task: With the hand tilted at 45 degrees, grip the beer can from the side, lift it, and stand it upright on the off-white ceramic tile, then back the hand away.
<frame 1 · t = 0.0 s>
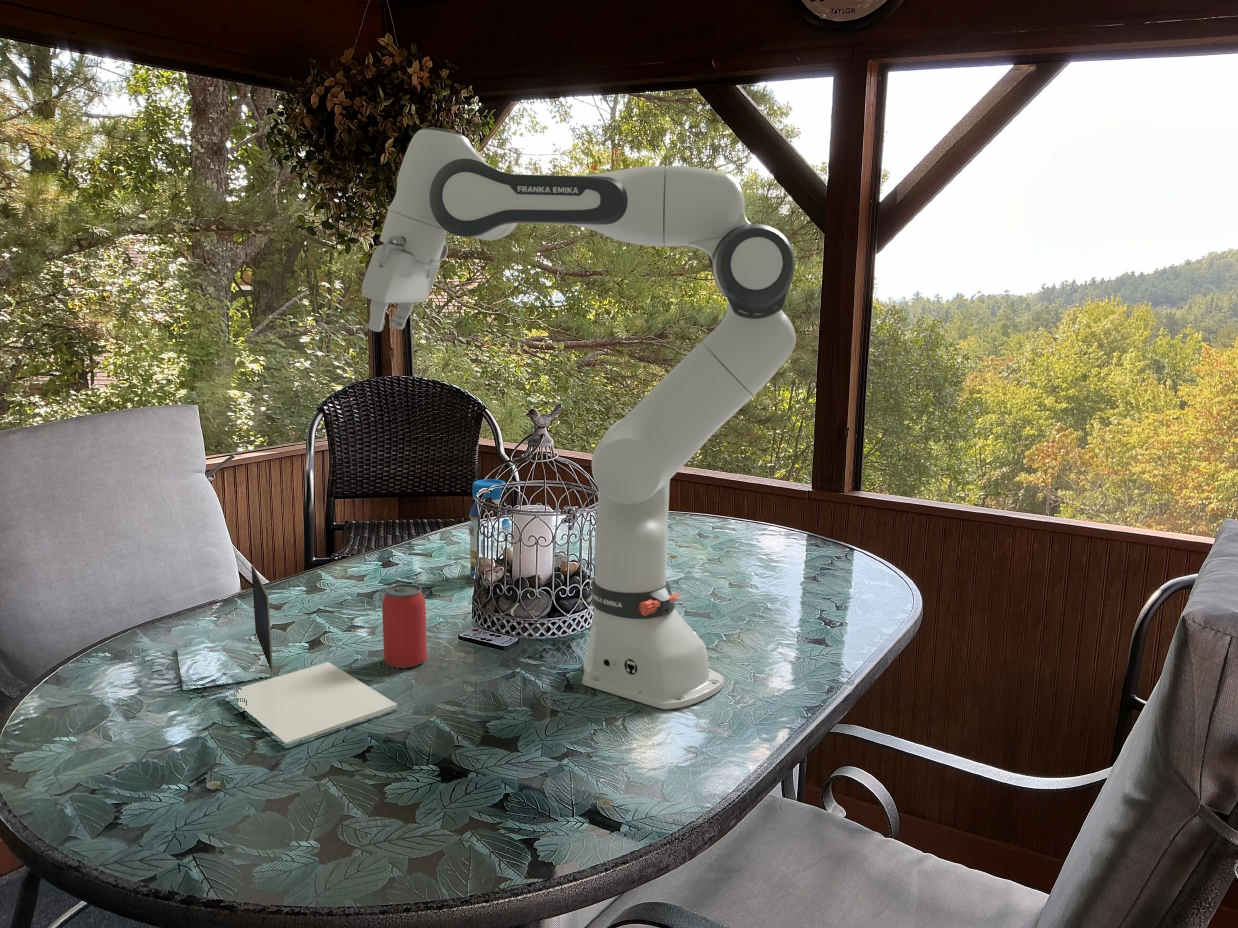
hand: (385, 329, 134), 52 cm above the table, tool tilted 20°, fingers open, 8 cm apart
beverage bottle: (490, 577, 185), on the table
beer can: (405, 662, 142), on the table
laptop: (223, 665, 141), on the table
ceramic tile: (309, 704, 127), on the table
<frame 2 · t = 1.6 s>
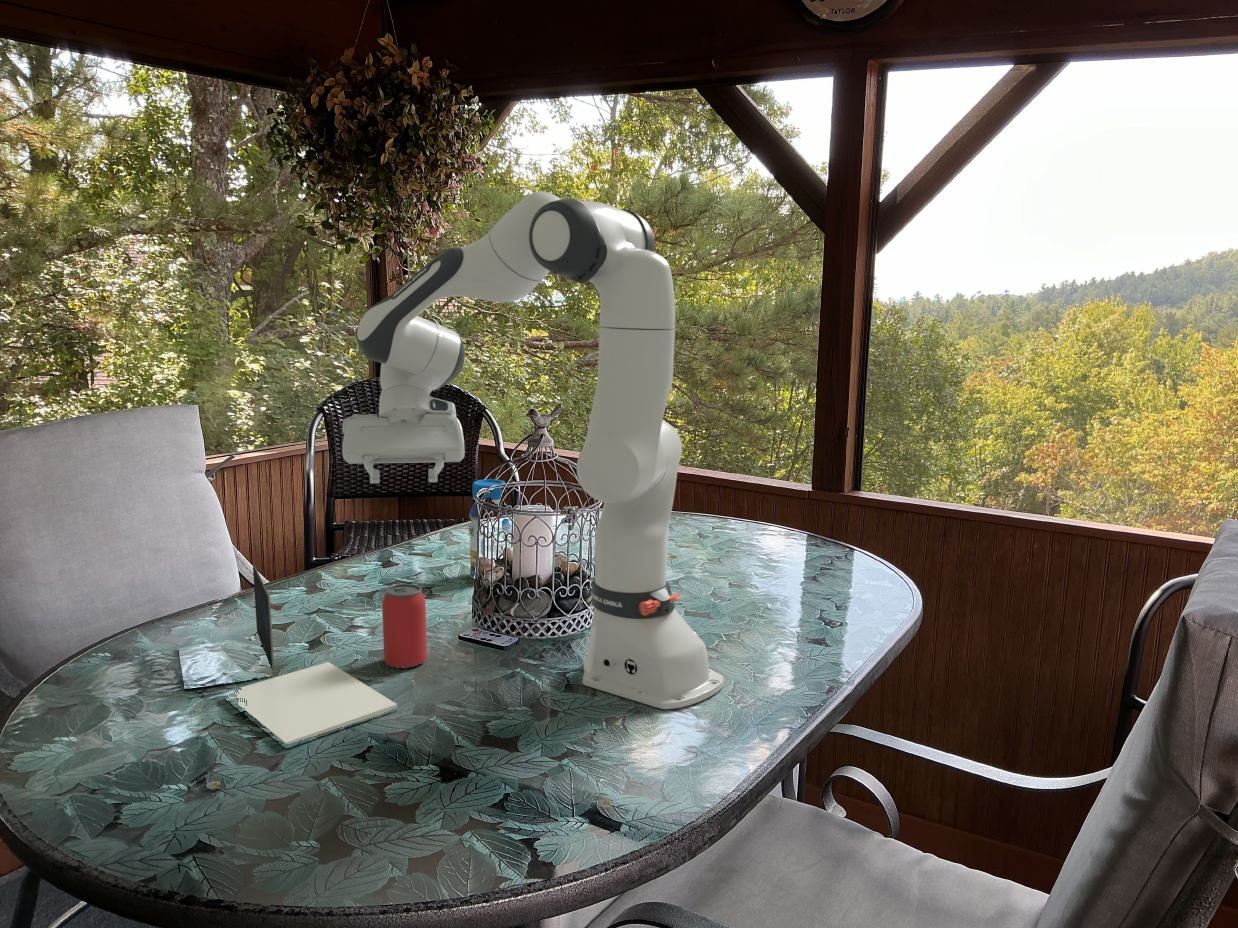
hand: (404, 480, 149), 27 cm above the table, tool tilted 45°, fingers open, 8 cm apart
nothing on the table moved.
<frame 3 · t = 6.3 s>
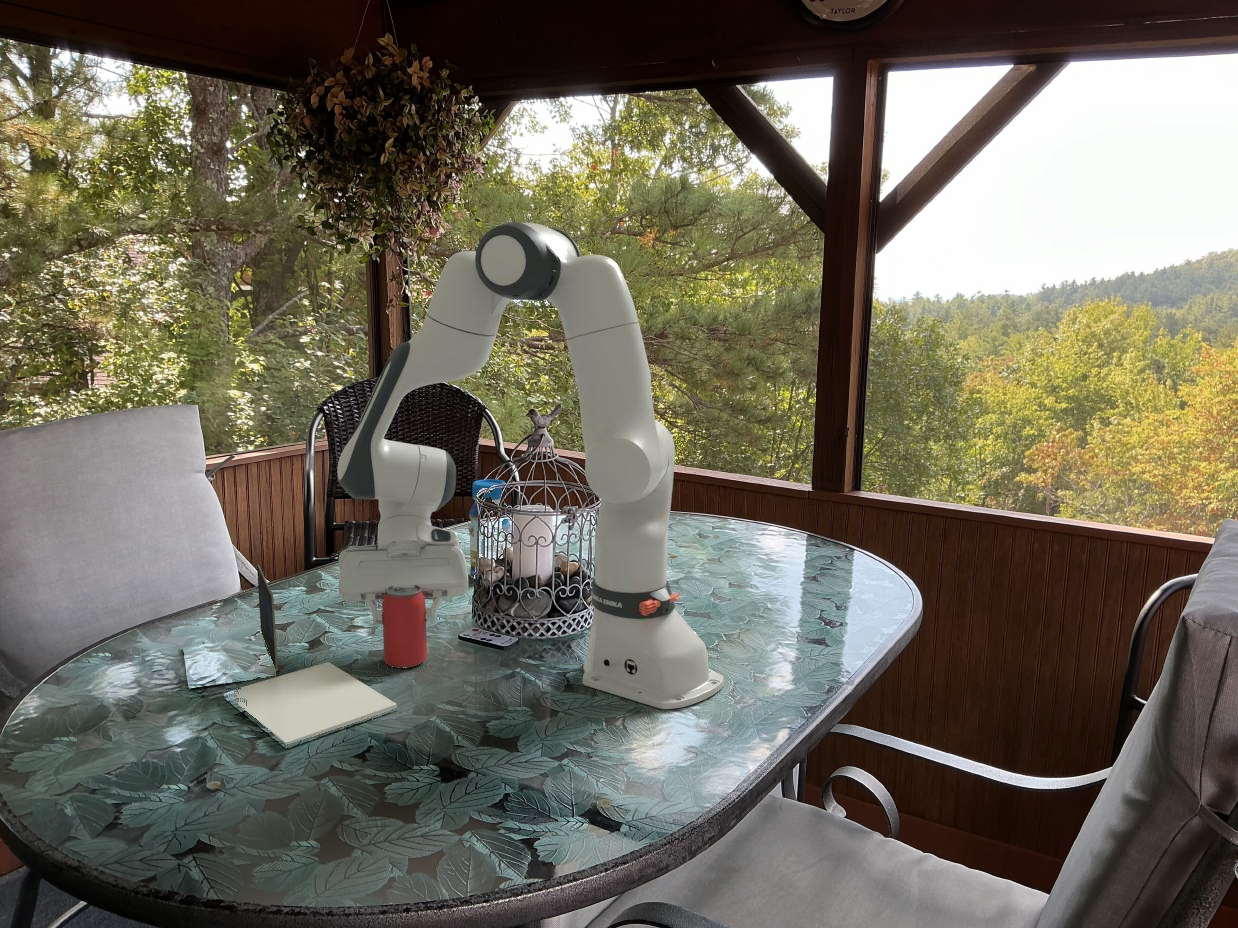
hand: (404, 621, 140), 7 cm above the table, tool tilted 45°, fingers closed on beer can, 7 cm apart
beer can: (405, 662, 142), on the table, touching gripper
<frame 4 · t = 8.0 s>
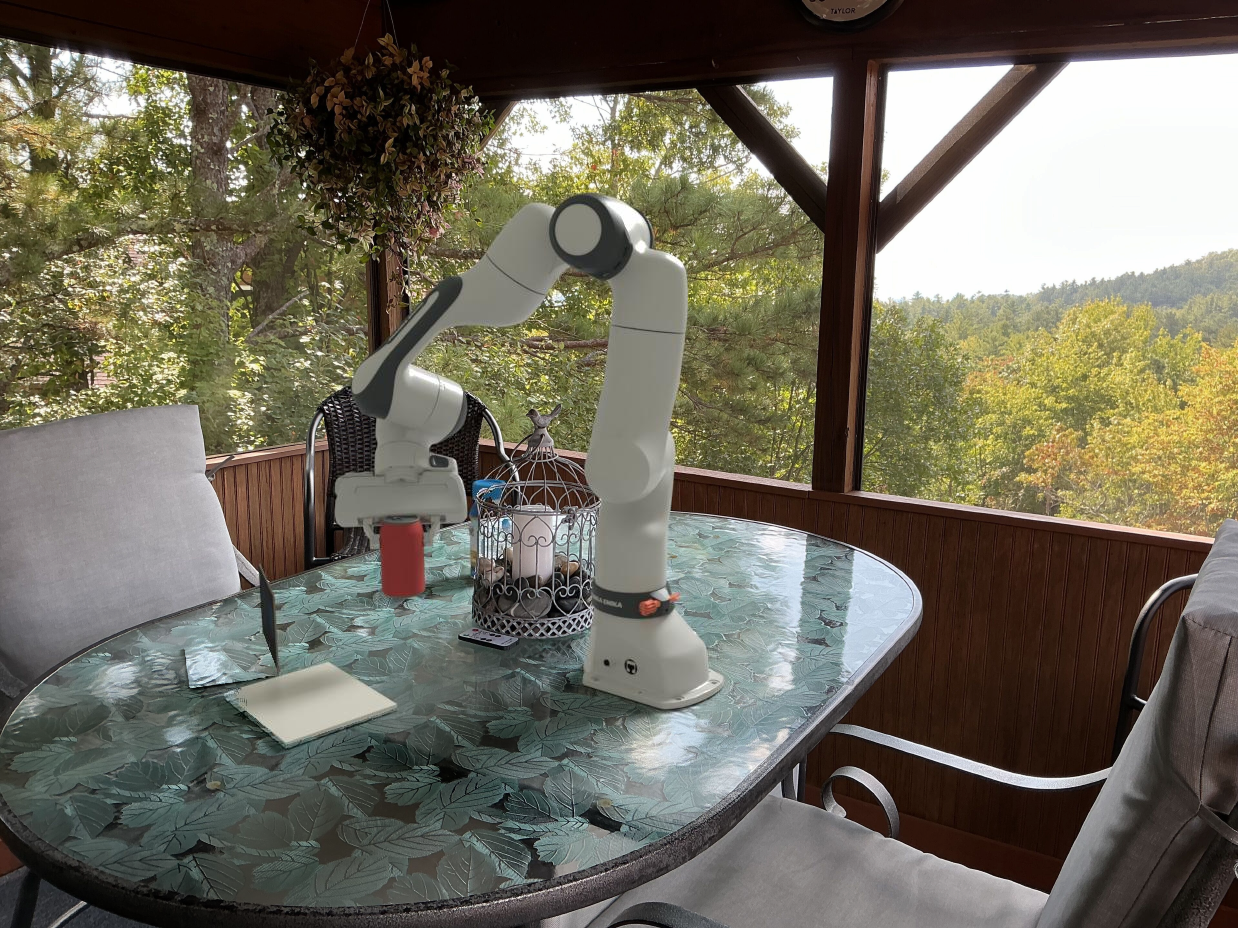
hand: (401, 546, 138), 19 cm above the table, tool tilted 45°, fingers closed on beer can, 7 cm apart
beer can: (403, 593, 140), point 11 cm above the table, touching gripper
everything else where it was.
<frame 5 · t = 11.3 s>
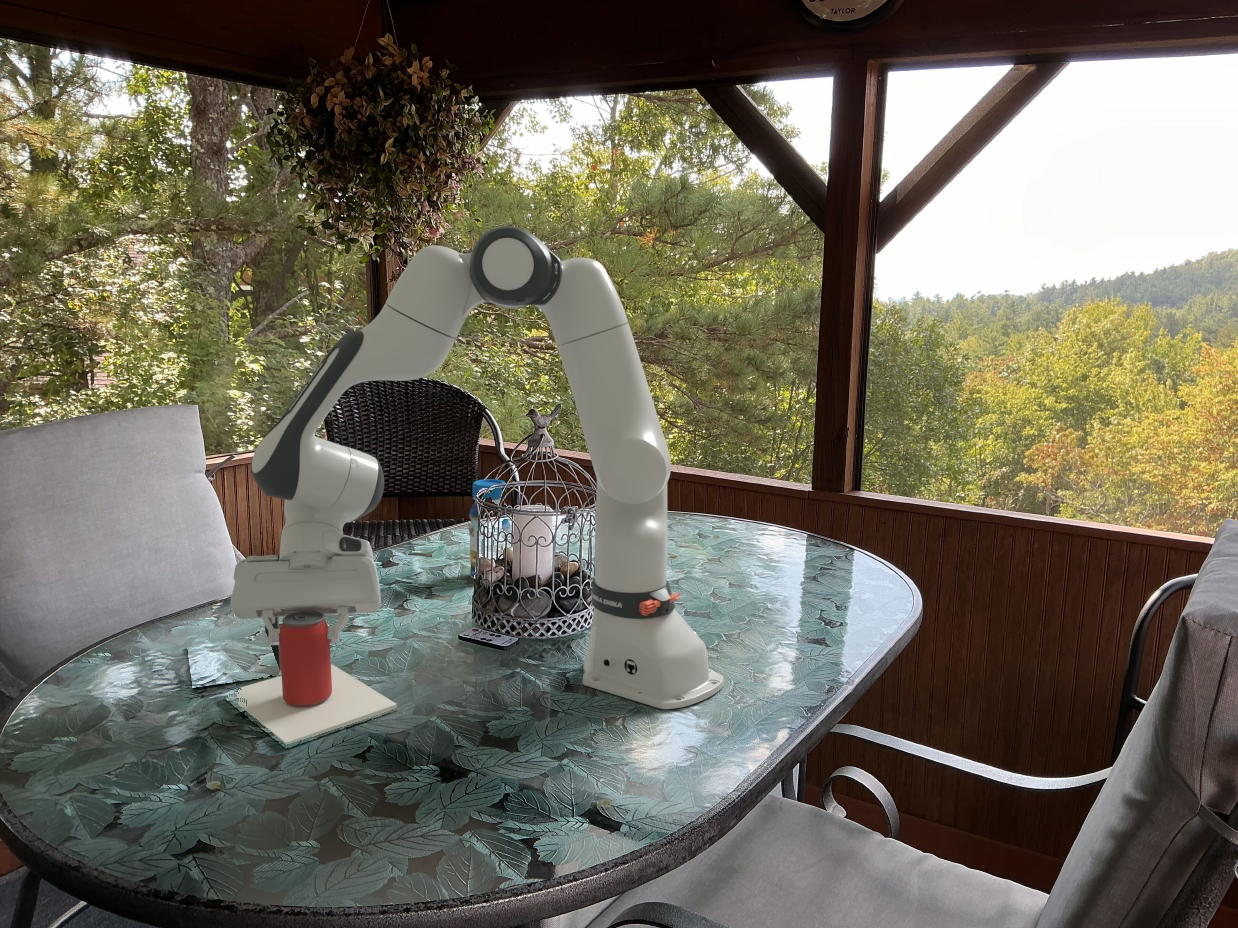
hand: (304, 641, 124), 10 cm above the table, tool tilted 45°, fingers closed on beer can, 6 cm apart
beer can: (307, 699, 126), point 1 cm above the table, touching ceramic tile, gripper
when the fingers open (10 cm above the table, at t = 11.7 s): beer can stays where it is, resting on ceramic tile.
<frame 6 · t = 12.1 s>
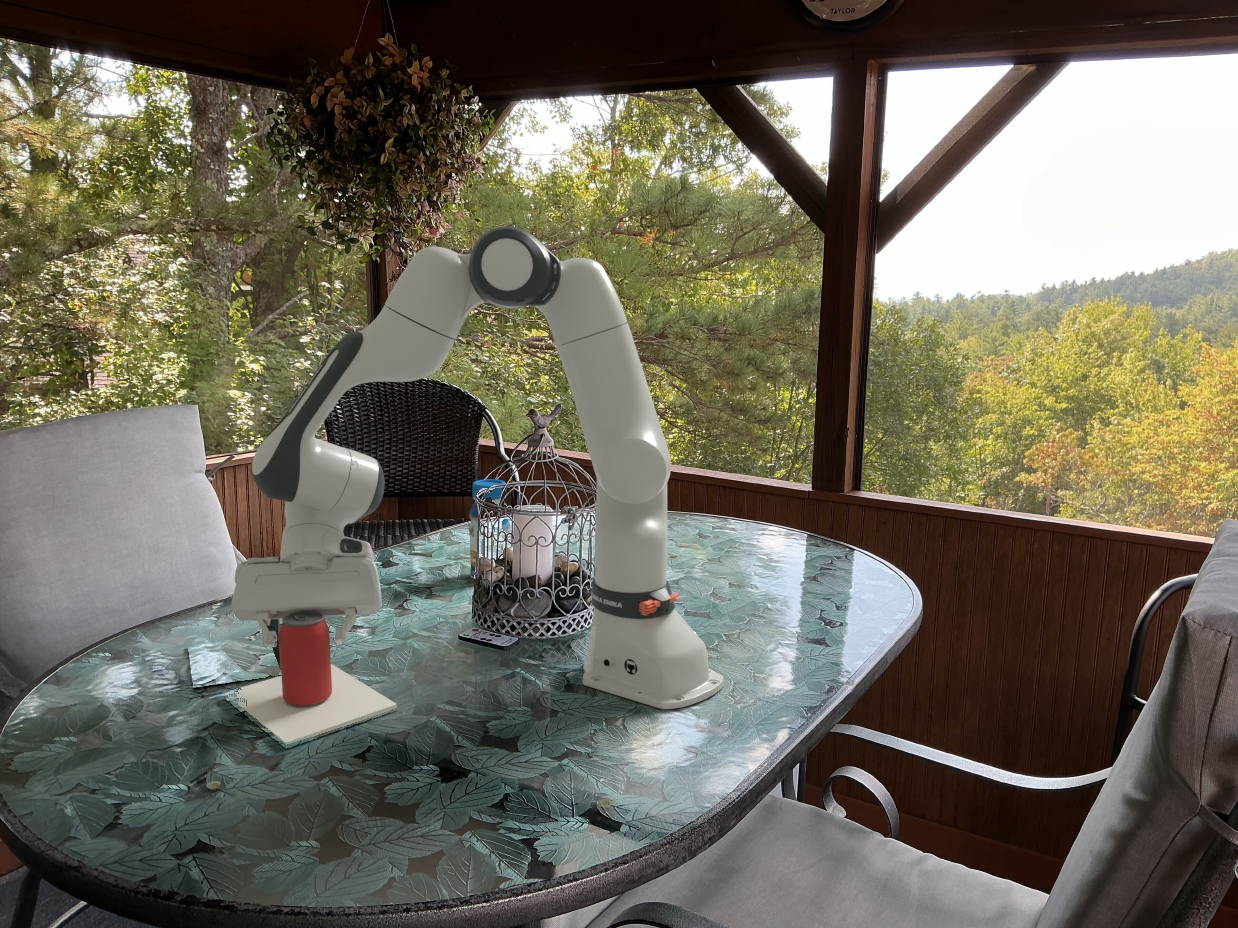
hand: (305, 643, 124), 9 cm above the table, tool tilted 45°, fingers open, 8 cm apart
beer can: (307, 699, 126), point 1 cm above the table, touching ceramic tile
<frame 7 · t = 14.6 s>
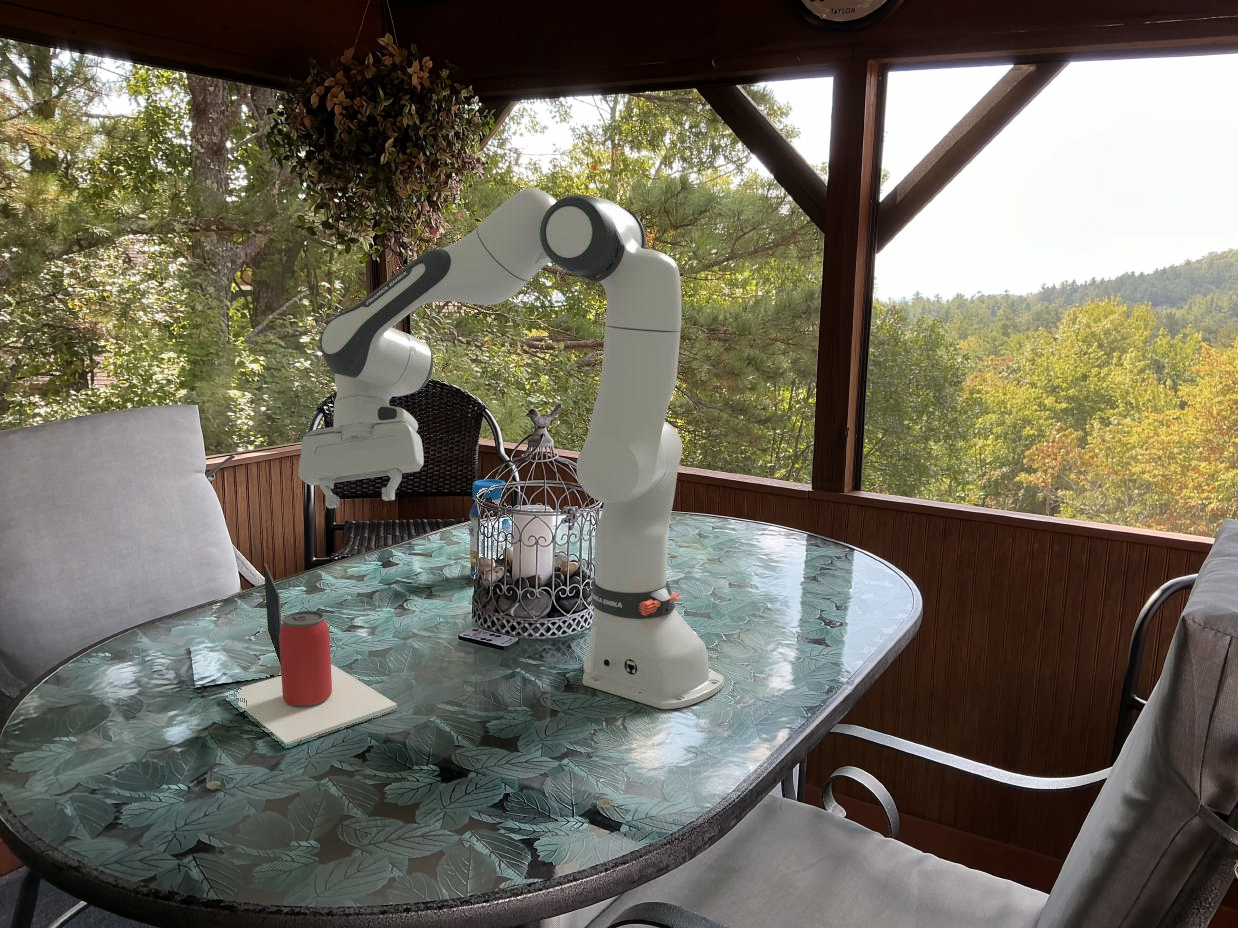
hand: (360, 503, 143), 24 cm above the table, tool tilted 30°, fingers open, 8 cm apart
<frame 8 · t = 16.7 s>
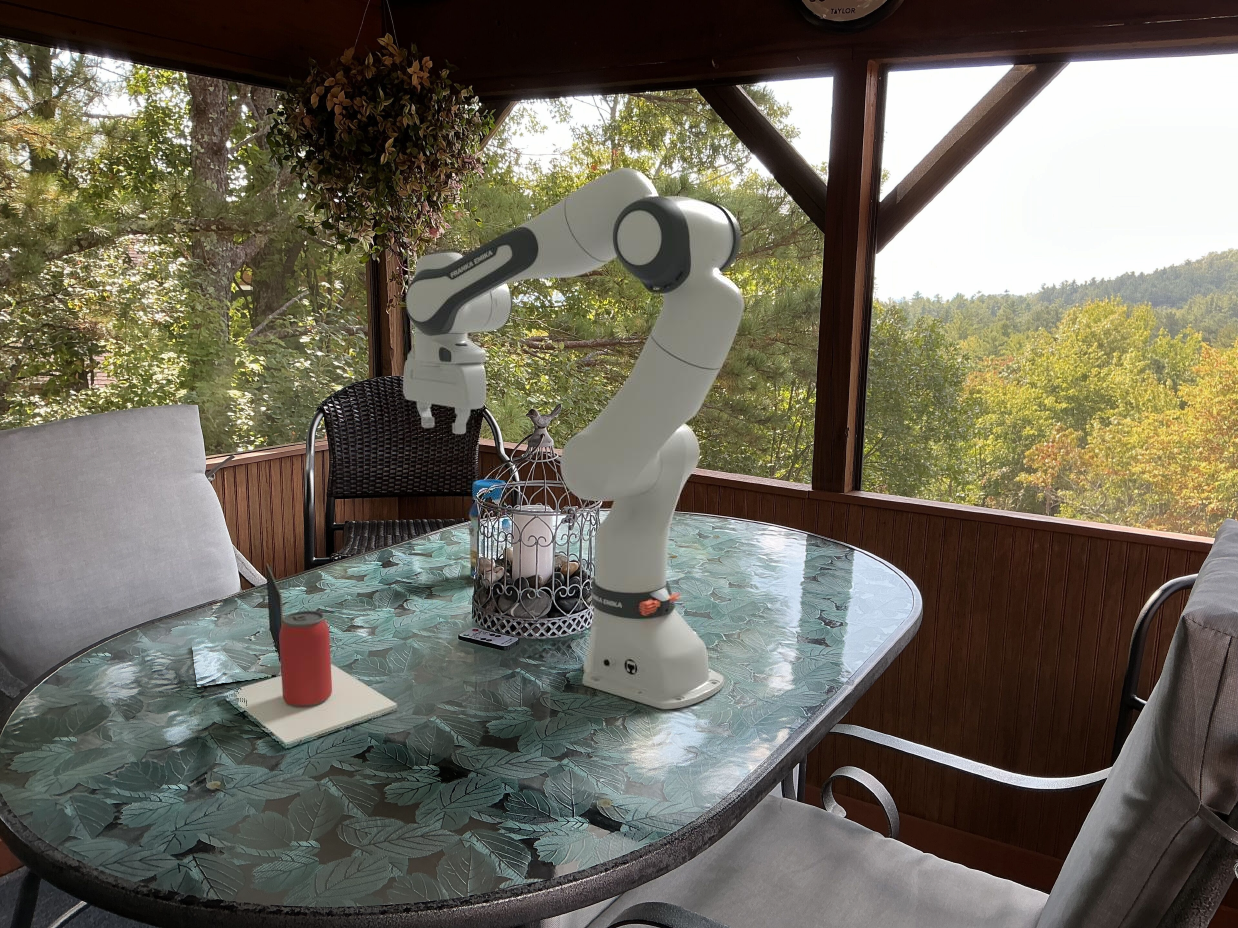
hand: (443, 430, 155), 34 cm above the table, tool pointing down, fingers open, 8 cm apart
at the end: beer can inside the target area on the ceramic tile (0.1 cm from its centre), point 0.8 cm above the ceramic tile's base; beer can tilted 0°; the gripper is holding nothing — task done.
